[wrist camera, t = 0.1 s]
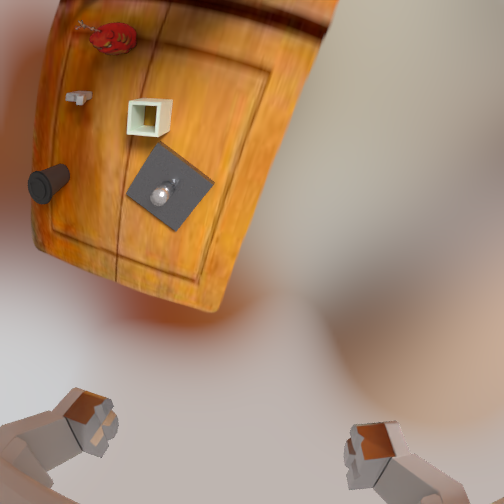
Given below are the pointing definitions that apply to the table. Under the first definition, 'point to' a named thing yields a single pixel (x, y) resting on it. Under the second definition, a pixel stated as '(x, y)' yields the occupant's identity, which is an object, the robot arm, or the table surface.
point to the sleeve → (138, 112)
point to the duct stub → (169, 186)
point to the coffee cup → (47, 182)
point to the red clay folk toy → (112, 37)
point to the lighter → (79, 96)
